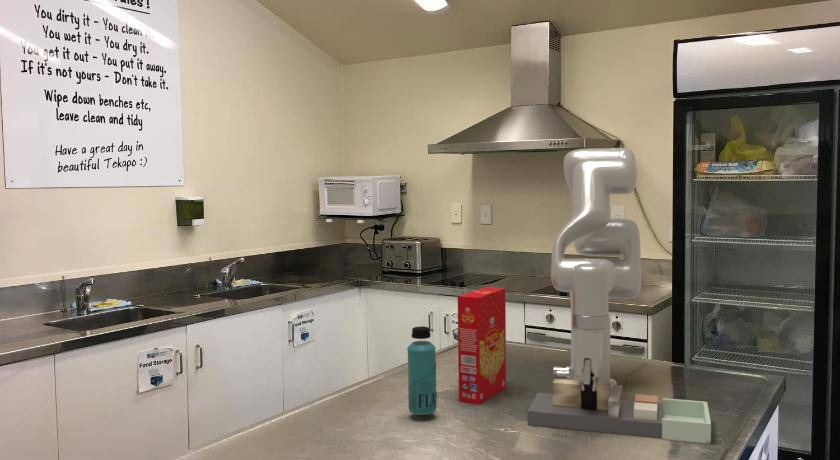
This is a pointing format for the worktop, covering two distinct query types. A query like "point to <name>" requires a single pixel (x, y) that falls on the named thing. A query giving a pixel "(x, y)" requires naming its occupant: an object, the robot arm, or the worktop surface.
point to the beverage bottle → (421, 373)
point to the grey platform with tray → (628, 419)
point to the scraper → (571, 395)
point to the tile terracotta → (646, 399)
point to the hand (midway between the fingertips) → (589, 405)
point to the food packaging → (481, 344)
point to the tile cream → (645, 411)
